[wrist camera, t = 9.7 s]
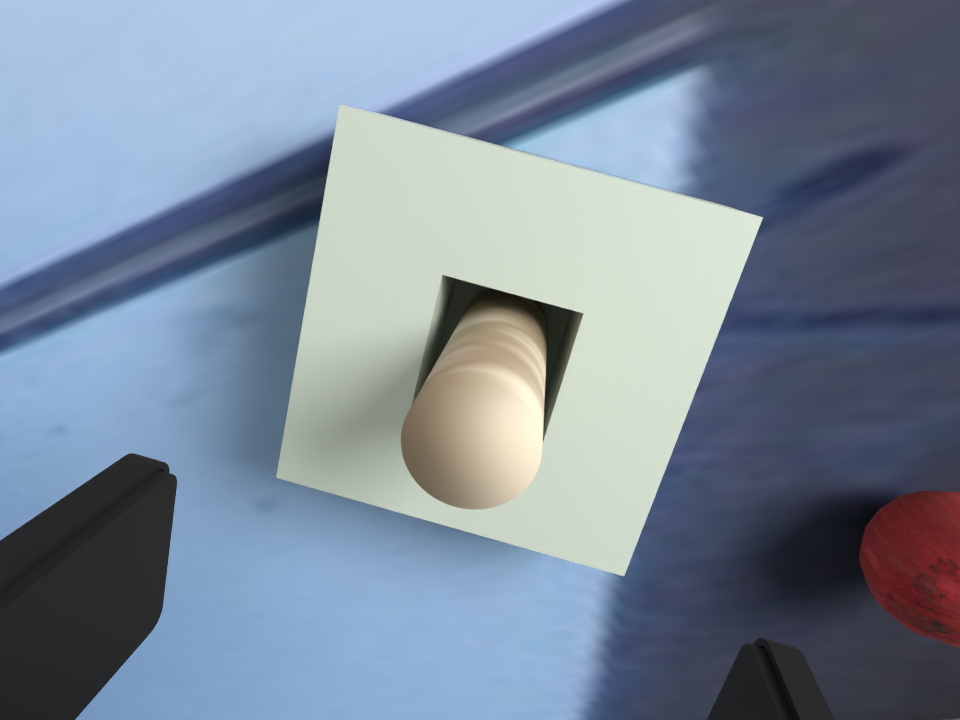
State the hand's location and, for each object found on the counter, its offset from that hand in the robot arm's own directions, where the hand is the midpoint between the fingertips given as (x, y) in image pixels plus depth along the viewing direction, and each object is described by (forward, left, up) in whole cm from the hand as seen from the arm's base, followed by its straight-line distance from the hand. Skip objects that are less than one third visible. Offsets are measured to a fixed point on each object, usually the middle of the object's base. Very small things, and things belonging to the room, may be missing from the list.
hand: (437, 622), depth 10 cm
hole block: (0, 0, -20) cm, 20 cm away
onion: (-19, +4, -20) cm, 28 cm away
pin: (0, 0, -19) cm, 18 cm away
